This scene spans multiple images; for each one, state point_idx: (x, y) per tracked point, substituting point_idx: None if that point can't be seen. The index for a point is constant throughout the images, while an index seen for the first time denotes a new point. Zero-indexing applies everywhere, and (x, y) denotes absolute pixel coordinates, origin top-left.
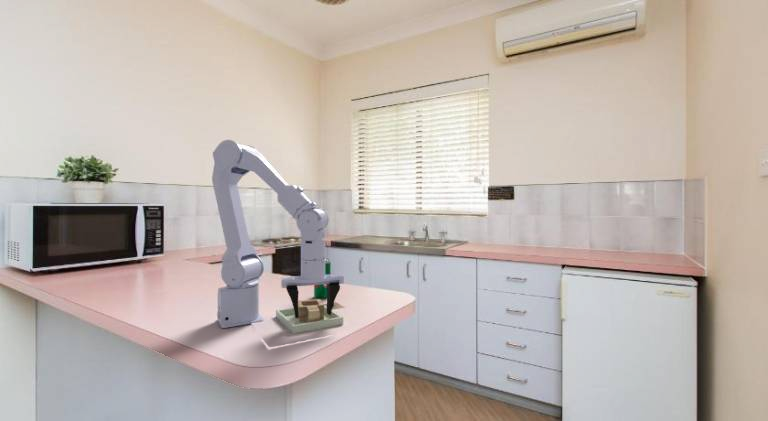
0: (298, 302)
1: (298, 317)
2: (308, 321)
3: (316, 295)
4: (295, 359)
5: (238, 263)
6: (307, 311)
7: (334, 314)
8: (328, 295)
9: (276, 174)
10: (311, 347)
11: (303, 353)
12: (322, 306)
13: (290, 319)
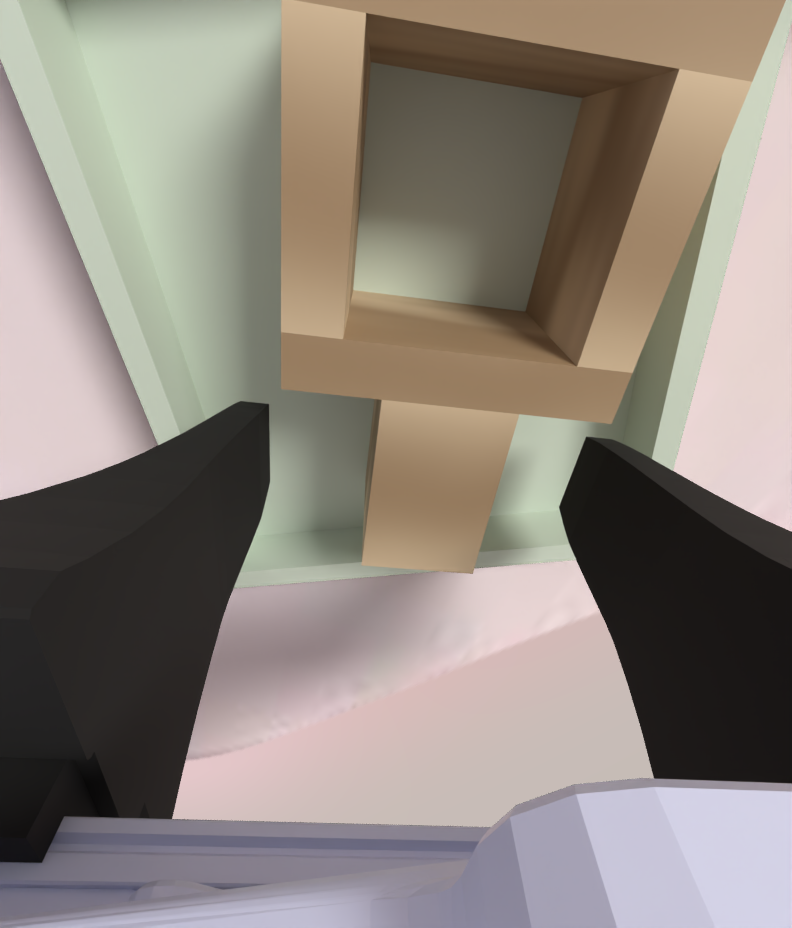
0: (305, 56)
1: (267, 484)
2: (367, 469)
3: None
4: (230, 748)
5: None
6: (373, 449)
7: (651, 431)
8: (675, 635)
9: None
10: (314, 692)
11: (268, 723)
12: (586, 413)
13: (217, 199)
